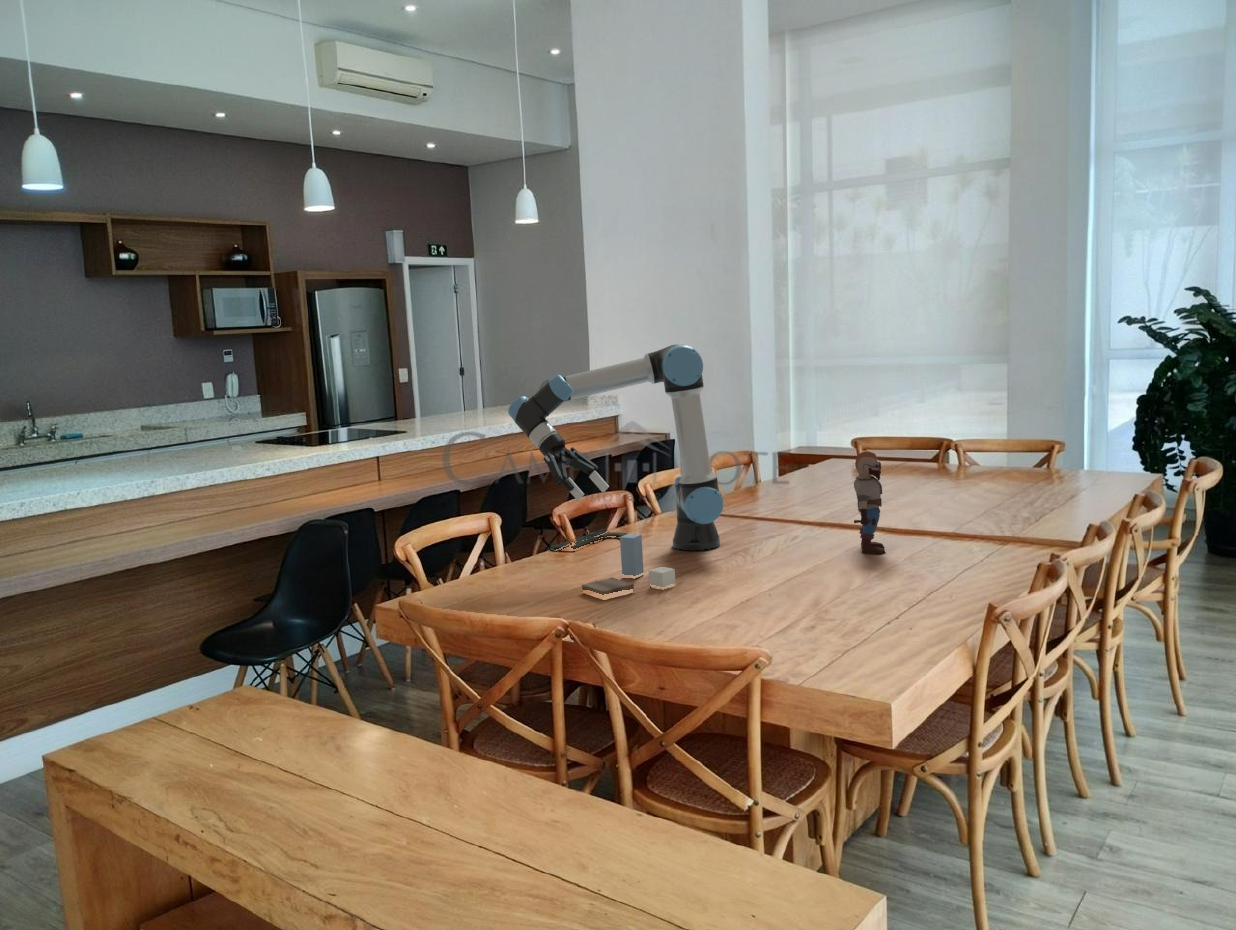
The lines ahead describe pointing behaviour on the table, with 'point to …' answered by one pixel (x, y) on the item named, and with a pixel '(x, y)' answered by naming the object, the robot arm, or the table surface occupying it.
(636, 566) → the pillar
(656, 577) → the grey-green cube
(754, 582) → the table surface
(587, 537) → the firearm
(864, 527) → the toy
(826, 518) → the table surface
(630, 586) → the slab
